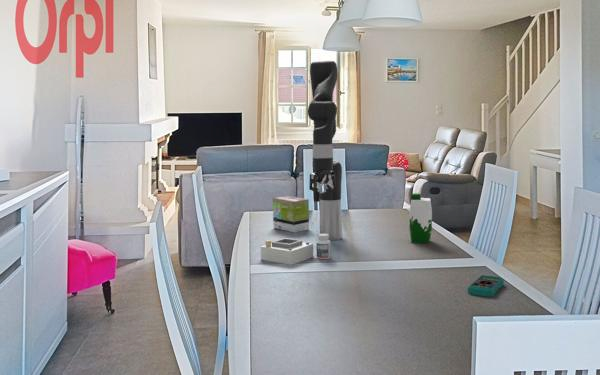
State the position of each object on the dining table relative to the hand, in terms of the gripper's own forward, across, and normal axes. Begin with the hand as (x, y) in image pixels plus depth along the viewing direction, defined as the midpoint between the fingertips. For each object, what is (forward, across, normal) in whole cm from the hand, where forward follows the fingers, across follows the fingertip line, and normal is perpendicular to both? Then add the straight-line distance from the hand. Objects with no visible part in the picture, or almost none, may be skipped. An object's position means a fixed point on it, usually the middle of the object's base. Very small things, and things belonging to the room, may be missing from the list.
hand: (323, 200), depth 216 cm
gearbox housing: (+22, +8, -11) cm, 26 cm away
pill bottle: (+22, 0, 0) cm, 22 cm away
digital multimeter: (+23, +6, +63) cm, 67 cm away
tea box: (+22, -38, -43) cm, 61 cm away
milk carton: (+22, -45, +19) cm, 54 cm away
